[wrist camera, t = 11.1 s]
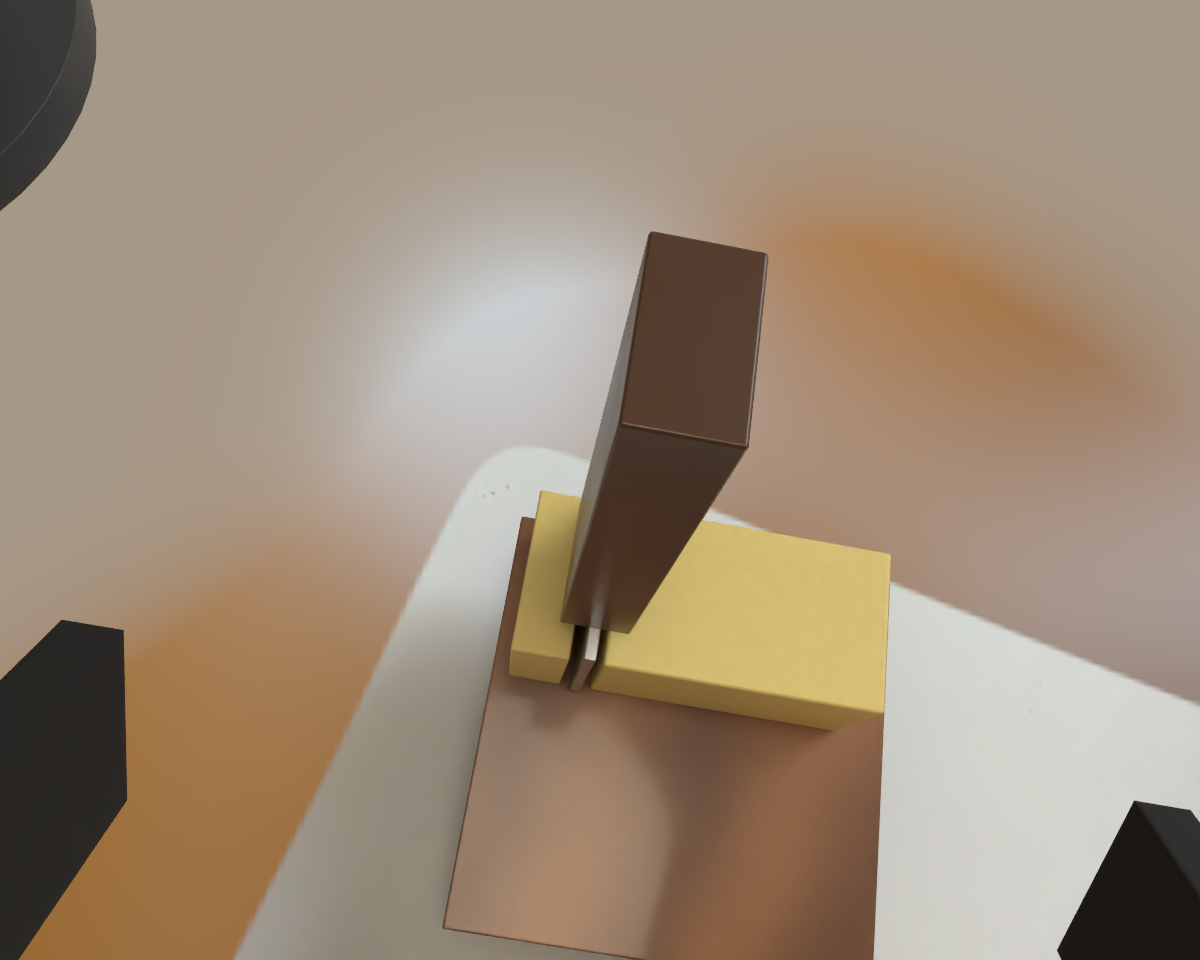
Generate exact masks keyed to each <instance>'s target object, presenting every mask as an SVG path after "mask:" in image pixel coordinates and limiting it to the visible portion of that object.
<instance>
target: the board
mask: <svg viewBox="0 0 1200 960" xmlns="http://www.w3.org/2000/svg"><path fill="white" fill-rule="evenodd" d="M534 523H535V519H533V518H528V517H522V519H521V524H520V529H519V534H518V539H517V544H516V550H515V555H514V560H513V565H512V570H511V575H510V581H509V586H508V591H507V596H506V601H505V606H504V612H503V617H502V622H501V627H500V632H499V637H498V643H497V648H496V653H495V658H494V663H493V668H492V674H491V679H490V684H489V689H488V694H487V699H486V705H485V710H484V715H483V720H482V725H481V730H480V736H479V741H478V746H477V751H476V756H475V762H474V767H473V772H472V777H471V782H470V787H469V793H468V798H467V803H466V808H465V813H464V818H463V824H462V829H461V834H460V839H459V844H458V849H457V855H456V860H455V865H454V870H453V875H452V880H451V886H450V891H449V896H448V901H447V906H446V911H445V917H444V922H443V928H444V929H449V930H455V931H461V932H467V933H474V934H480V935H486V936H492V937H498V938H505V939H511V940H517V941H523V942H530V943H536V944H542V945H548V946H554V947H561V948H567V949H573V950H579V951H586V952H592V953H598V954H604V955H610V956H617V957H623V958H629V959H635V960H873V956H874V934H875V911H876V888H877V865H878V842H879V820H880V797H881V774H882V751H883V729H884V712H883V714H881V715H878V716H875V717H872V718H869V719H867V720H864V721H861V722H858V723H855V724H852V725H849V726H846V727H844V728H841V729H838V730H835V731H831V730H825V729H819V728H814V727H808V726H802V725H796V724H790V723H785V722H779V721H773V720H767V719H761V718H756V717H750V716H744V715H738V714H732V713H726V712H721V711H715V710H709V709H703V708H697V707H692V706H686V705H680V704H674V703H668V702H662V701H657V700H651V699H645V698H639V697H633V696H628V695H622V694H616V693H610V692H604V691H599V690H593V689H591V688H590V683H591V676H592V670H593V666H592V668H591V670H590V672H589V674H588V676H587V677H586V679H585V681H584V683H583V685H582V686H581V688H580V690H579V691H573V690H570V689H569V688H570V682H571V676H572V670H573V664H574V657H575V651H576V645H577V639H578V633H579V627H580V626H579V625H575V629H574V635H573V641H572V647H571V653H570V659H569V661H568V664H567V666H566V668H565V671H564V673H563V676H562V678H561V681H560V683H558V684H557V683H551V682H545V681H539V680H533V679H528V678H522V677H516V676H510V675H509V664H510V653H511V645H512V640H513V635H514V629H515V624H516V619H517V613H518V608H519V603H520V597H521V592H522V587H523V581H524V576H525V571H526V565H527V560H528V555H529V550H530V544H531V539H532V534H533V528H534ZM889 592H890V584H889ZM888 615H889V607H888ZM887 637H888V630H887ZM886 660H887V653H886ZM885 683H886V675H885ZM884 706H885V698H884Z"/></svg>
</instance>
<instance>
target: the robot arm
mask: <svg viewBox="0 0 1200 960" xmlns="http://www.w3.org/2000/svg"><path fill="white" fill-rule="evenodd" d="M125 725H126V724H125V676H124V631H123V630H119V629H113V628H107V627H102V626H95V625H90V624H83V623H78V622H72V621H65V620H61V621H60V622H59V623H58V624H57V625H56V626H55V627H54V628H53V629H52V630H51V631H50V632H49V633H48V634H47V635H46V636H45V637H44V638H43V639H42V640H41V641H40V642H39V643H38V644H37V645H36V646H35V647H34V648H33V649H32V650H31V651H30V652H29V653H28V654H27V655H26V656H25V657H24V658H22V659H21V661H19V662H18V663H17V665H15V666H14V667H13V669H12V670H11V671H9V672H8V673H7V674H6V675H5V676H4V677H3V678H2V679H1V680H0V960H19V958H20V957H21V955H22V954H23V952H24V951H25V949H26V948H27V946H28V945H29V943H30V942H31V940H32V939H33V938H34V936H35V935H36V933H37V932H38V930H39V929H40V927H41V926H42V924H43V922H44V921H45V920H46V918H47V917H48V915H49V914H50V913H51V911H52V910H53V908H54V907H55V905H56V904H57V902H58V901H59V899H60V898H61V896H62V895H63V893H64V892H65V890H66V889H67V888H68V886H69V885H70V883H71V882H72V880H73V879H74V877H75V876H76V874H77V873H78V871H79V870H80V868H81V867H82V865H83V864H84V863H85V861H86V860H87V858H88V857H89V855H90V854H91V852H92V851H93V849H94V848H95V846H96V845H97V843H98V842H99V840H100V839H101V838H102V836H103V835H104V833H105V832H106V830H107V829H108V827H109V826H110V824H111V823H112V821H113V820H114V818H115V817H116V816H117V814H118V813H119V811H120V810H121V808H122V807H123V805H124V804H125V802H126V801H127V776H126V775H127V773H126V726H125ZM1057 951H1058V953H1059V955H1060V958H1061V960H1200V822H1199V821H1198V820H1197V818H1196V817H1195V816H1194V814H1193V813H1192V812H1191V810H1186V809H1180V808H1174V807H1168V806H1162V805H1156V804H1151V803H1145V802H1139V801H1134V802H1133V804H1132V806H1131V808H1130V810H1129V812H1128V814H1127V816H1126V818H1125V820H1124V822H1123V824H1122V826H1121V827H1120V829H1119V831H1118V833H1117V835H1116V837H1115V839H1114V841H1113V843H1112V845H1111V847H1110V849H1109V851H1108V853H1107V855H1106V856H1105V858H1104V860H1103V862H1102V864H1101V866H1100V868H1099V870H1098V872H1097V874H1096V876H1095V878H1094V880H1093V882H1092V884H1091V885H1090V887H1089V889H1088V891H1087V893H1086V895H1085V897H1084V899H1083V901H1082V903H1081V905H1080V907H1079V909H1078V911H1077V913H1076V914H1075V916H1074V918H1073V920H1072V922H1071V924H1070V926H1069V928H1068V930H1067V932H1066V934H1065V936H1064V938H1063V940H1062V942H1061V943H1060V945H1059V947H1058V949H1057Z"/></svg>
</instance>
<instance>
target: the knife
mask: <svg viewBox="0 0 1200 960" xmlns="http://www.w3.org/2000/svg"><path fill="white" fill-rule="evenodd" d="M767 266H768V255H767V254H766V253H762V252H758V251H752V250H747V249H742V248H736V247H732V246H726V245H721V244H716V243H711V242H706V241H700V240H695V239H690V238H684V237H680V236H674V235H669V234H664V233H658V232H650V234H649V235H648V239H647V243H646V247H645V251H644V255H643V259H642V263H641V267H640V270H639V274H638V278H637V283H636V286H635V291H634V294H633V298H632V302H631V306H630V310H629V314H628V318H627V322H626V326H625V330H624V333H623V337H622V341H621V345H620V349H619V353H618V357H617V361H616V365H615V369H614V373H613V377H612V380H611V384H610V388H609V393H608V397H607V401H606V404H605V408H604V412H603V416H602V420H601V424H600V428H599V432H598V435H597V439H596V443H595V447H594V451H593V455H592V459H591V463H590V467H589V471H588V475H587V479H586V483H585V487H584V490H583V494H582V498H581V502H580V506H579V512H578V518H577V524H576V530H575V536H574V541H573V547H572V553H571V559H570V565H569V571H568V577H567V582H566V588H565V594H564V600H563V606H562V612H561V618H560V621H561V622H562V623H567V624H573V625H579V626H580V627H579V633H578V639H577V645H576V651H575V657H574V664H573V670H572V676H571V682H570V688H569V689H570V690H573V691H579V690H580V688H581V686H582V685H583V683H584V681H585V679H586V677H587V676H588V674H589V672H590V670H591V668H592V666H593V665H594V663H595V661H596V657H597V650H598V644H599V637H600V631H601V629H602V630H608V631H613V632H619V633H625V634H630V632H631V631H632V629H633V628H634V626H635V625H636V623H637V621H638V620H639V618H640V617H641V615H642V614H643V612H644V610H645V609H646V607H647V606H648V604H649V603H650V601H651V599H652V598H653V596H654V595H655V593H656V592H657V590H658V588H659V587H660V585H661V584H662V582H663V581H664V579H665V577H666V576H667V574H668V573H669V571H670V570H671V568H672V567H673V565H674V563H675V562H676V560H677V559H678V557H679V556H680V554H681V552H682V551H683V549H684V548H685V546H686V545H687V543H688V541H689V540H690V538H691V537H692V535H693V534H694V532H695V530H696V529H697V527H698V526H699V524H700V523H701V521H702V519H703V518H704V516H705V515H706V513H707V512H708V510H709V508H710V507H711V505H712V504H713V502H714V501H715V499H716V497H717V496H718V494H719V493H720V491H721V490H722V488H723V486H724V485H725V483H726V482H727V480H728V479H729V477H730V475H731V474H732V472H733V471H734V469H735V468H736V466H737V464H738V463H739V461H740V460H741V458H742V457H743V455H744V453H745V452H746V450H747V449H748V447H749V438H750V427H751V419H752V408H753V400H754V390H755V381H756V371H757V362H758V352H759V342H760V333H761V323H762V313H763V304H764V294H765V285H766V276H767Z"/></svg>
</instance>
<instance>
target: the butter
mask: <svg viewBox="0 0 1200 960" xmlns="http://www.w3.org/2000/svg"><path fill="white" fill-rule="evenodd" d="M580 502H581V498H579V497H574V496H568V495H563V494H557V493H551V492H546V491H541V492H540V496H539V502H538V507H537V512H536V518H535V523H534V528H533V534H532V539H531V544H530V550H529V555H528V560H527V565H526V571H525V576H524V581H523V587H522V592H521V597H520V603H519V608H518V613H517V619H516V624H515V629H514V635H513V640H512V645H511V653H510V664H509V675H510V676H516V677H522V678H528V679H533V680H539V681H545V682H551V683H557V684H558V683H560V681H561V678H562V676H563V673H564V671H565V668H566V666H567V664H568V661H569V659H570V653H571V647H572V641H573V635H574V629H575V625H573V624H567V623H562V622H561V621H560V618H561V612H562V606H563V600H564V594H565V588H566V582H567V577H568V571H569V565H570V559H571V553H572V547H573V541H574V536H575V530H576V524H577V518H578V512H579V506H580ZM890 561H891V556H890V554H887V553H882V552H876V551H871V550H865V549H859V548H854V547H848V546H843V545H837V544H832V543H826V542H821V541H815V540H810V539H804V538H798V537H793V536H787V535H782V534H776V533H771V532H765V531H760V530H754V529H749V528H743V527H738V526H732V525H726V524H721V523H715V522H710V521H704V520H702V521H701V523H700V524H699V526H698V527H697V529H696V530H695V532H694V534H693V535H692V537H691V538H690V540H689V541H688V543H687V545H686V546H685V548H684V549H683V551H682V552H681V554H680V556H679V557H678V559H677V560H676V562H675V563H674V565H673V567H672V568H671V570H670V571H669V573H668V574H667V576H666V577H665V579H664V581H663V582H662V584H661V585H660V587H659V588H658V590H657V592H656V593H655V595H654V596H653V598H652V599H651V601H650V603H649V604H648V606H647V607H646V609H645V610H644V612H643V614H642V615H641V617H640V618H639V620H638V621H637V623H636V625H635V626H634V628H633V629H632V631H631V632H630V634H625V633H619V632H613V631H608V630H602V629H601V631H600V637H599V644H598V650H597V657H596V661H595V663H594V665H593V670H592V676H591V683H590V688H591V689H593V690H599V691H604V692H610V693H616V694H622V695H628V696H633V697H639V698H645V699H651V700H657V701H662V702H668V703H674V704H680V705H686V706H692V707H697V708H703V709H709V710H715V711H721V712H726V713H732V714H738V715H744V716H750V717H756V718H761V719H767V720H773V721H779V722H785V723H790V724H796V725H802V726H808V727H814V728H819V729H825V730H831V731H835V730H838V729H841V728H844V727H846V726H849V725H852V724H855V723H858V722H861V721H864V720H867V719H869V718H872V717H875V716H878V715H881V714H883V712H884V698H885V675H886V653H887V630H888V607H889V584H890Z"/></svg>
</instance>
